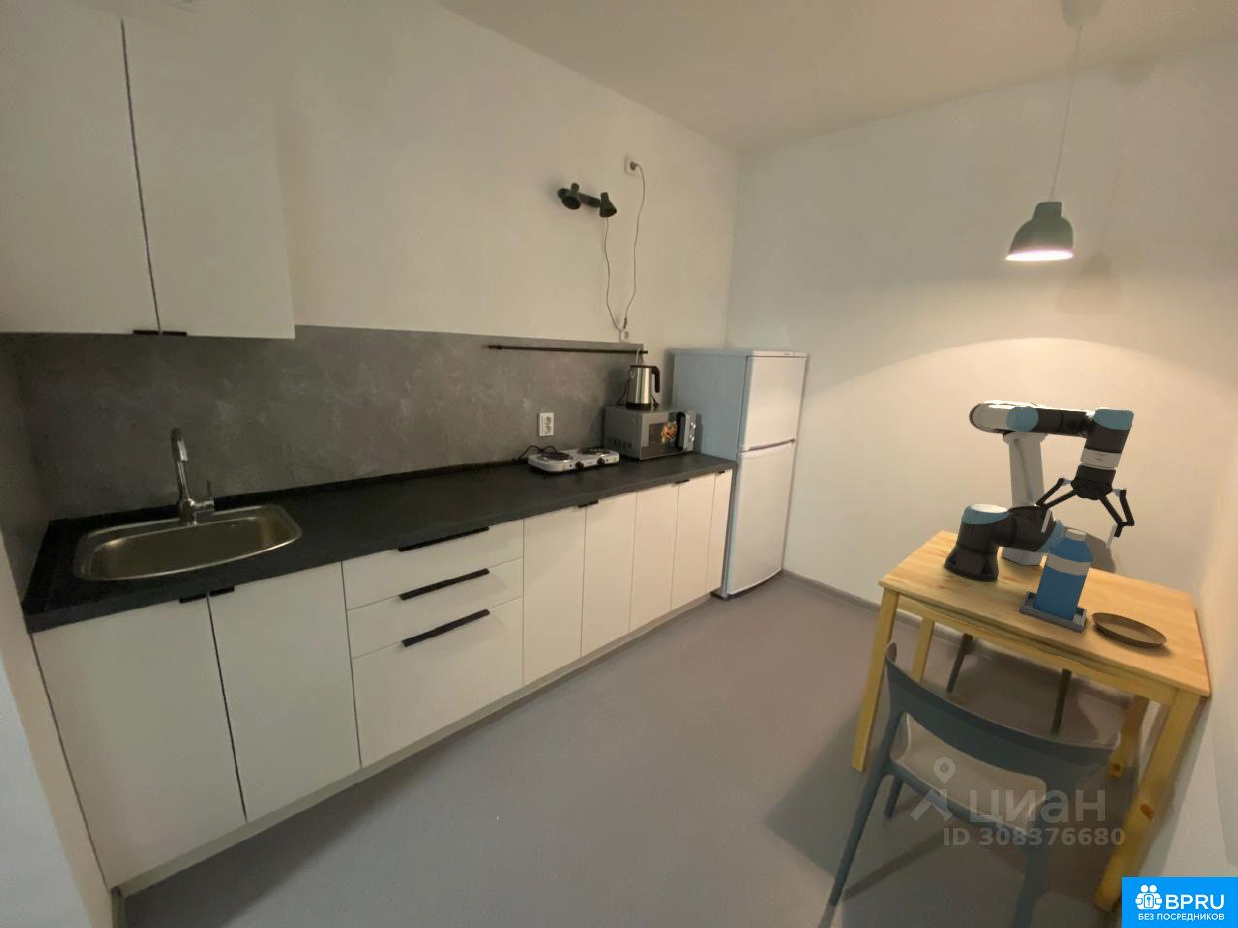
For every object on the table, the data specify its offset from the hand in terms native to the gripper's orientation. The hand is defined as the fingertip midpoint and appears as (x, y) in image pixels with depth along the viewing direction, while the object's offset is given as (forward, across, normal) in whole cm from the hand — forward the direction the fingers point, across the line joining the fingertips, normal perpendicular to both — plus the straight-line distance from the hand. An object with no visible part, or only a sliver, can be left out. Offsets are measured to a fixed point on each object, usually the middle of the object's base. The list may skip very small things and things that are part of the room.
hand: (1074, 538), depth 139 cm
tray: (+23, 0, 0) cm, 23 cm away
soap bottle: (+24, -13, +41) cm, 49 cm away
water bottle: (+23, 0, 0) cm, 23 cm away
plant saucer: (+24, +16, +2) cm, 29 cm away
